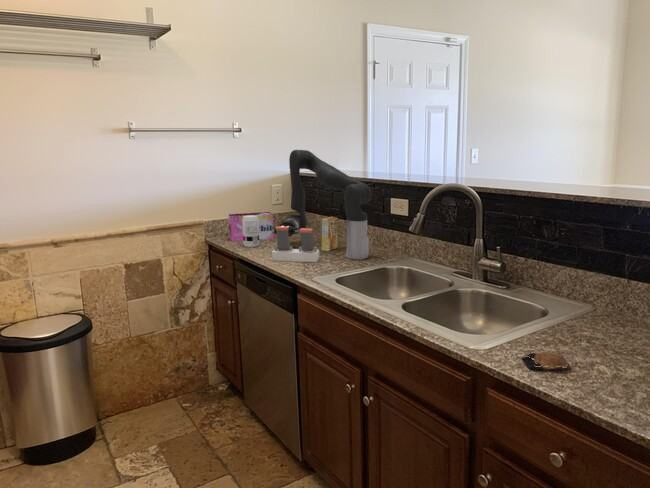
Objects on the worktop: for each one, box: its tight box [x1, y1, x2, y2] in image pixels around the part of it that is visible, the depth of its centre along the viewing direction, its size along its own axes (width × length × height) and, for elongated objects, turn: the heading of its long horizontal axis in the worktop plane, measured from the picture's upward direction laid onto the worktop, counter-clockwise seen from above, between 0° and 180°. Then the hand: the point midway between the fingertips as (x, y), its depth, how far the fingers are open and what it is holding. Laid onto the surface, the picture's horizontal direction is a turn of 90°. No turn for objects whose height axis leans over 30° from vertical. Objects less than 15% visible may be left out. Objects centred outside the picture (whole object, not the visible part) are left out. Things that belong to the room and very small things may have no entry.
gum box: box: [227, 211, 275, 242], centre depth 266 cm, size 24×8×14 cm, turn 111°
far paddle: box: [275, 225, 290, 250], centre depth 219 cm, size 5×2×11 cm, turn 82°
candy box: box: [321, 216, 339, 252], centre depth 240 cm, size 9×4×15 cm, turn 150°
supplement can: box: [242, 215, 260, 248], centre depth 248 cm, size 8×8×15 cm
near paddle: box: [299, 227, 315, 251], centre depth 217 cm, size 5×2×11 cm, turn 82°
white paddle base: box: [271, 245, 320, 263], centre depth 221 cm, size 20×7×6 cm, turn 82°
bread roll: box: [521, 351, 576, 374], centre depth 119 cm, size 11×8×4 cm
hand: (280, 233), depth 219 cm, fingers closed
